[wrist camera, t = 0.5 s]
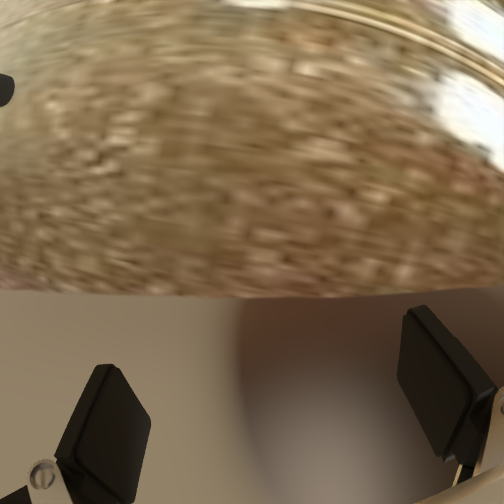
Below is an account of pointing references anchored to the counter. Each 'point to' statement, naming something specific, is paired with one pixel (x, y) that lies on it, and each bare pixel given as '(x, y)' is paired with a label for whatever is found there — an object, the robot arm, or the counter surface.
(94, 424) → the robot arm
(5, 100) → the drinking cup
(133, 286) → the counter surface
